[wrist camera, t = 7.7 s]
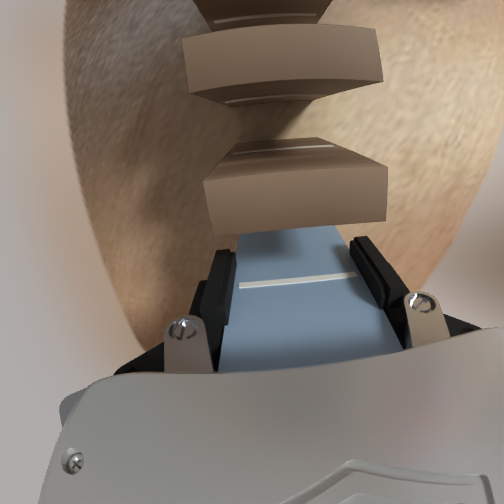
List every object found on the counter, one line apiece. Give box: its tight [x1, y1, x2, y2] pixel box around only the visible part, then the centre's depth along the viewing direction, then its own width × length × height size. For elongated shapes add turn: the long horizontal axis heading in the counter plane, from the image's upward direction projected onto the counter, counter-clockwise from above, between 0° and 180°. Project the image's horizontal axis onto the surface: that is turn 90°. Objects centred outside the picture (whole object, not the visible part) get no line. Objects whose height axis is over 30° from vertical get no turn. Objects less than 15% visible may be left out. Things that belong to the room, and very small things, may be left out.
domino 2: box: [182, 24, 383, 107], centre depth 10 cm, size 2×5×10 cm, turn 97°
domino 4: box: [218, 225, 403, 372], centre depth 10 cm, size 2×5×10 cm, turn 97°
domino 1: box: [193, 0, 332, 32], centre depth 8 cm, size 2×5×10 cm, turn 97°
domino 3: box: [203, 137, 388, 237], centre depth 11 cm, size 2×5×10 cm, turn 97°
